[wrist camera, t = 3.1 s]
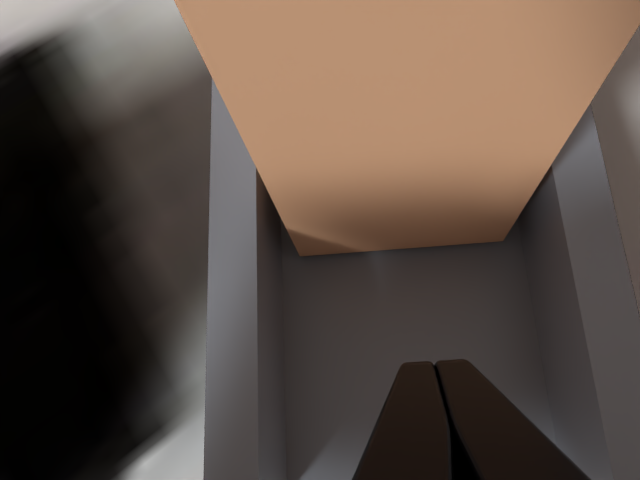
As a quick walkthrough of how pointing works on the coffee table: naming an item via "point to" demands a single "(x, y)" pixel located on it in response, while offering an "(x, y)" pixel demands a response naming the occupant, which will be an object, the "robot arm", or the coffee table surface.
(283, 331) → the charcoal chute
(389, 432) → the robot arm
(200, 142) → the coffee table surface
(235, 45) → the terracotta block
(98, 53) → the coffee table surface
